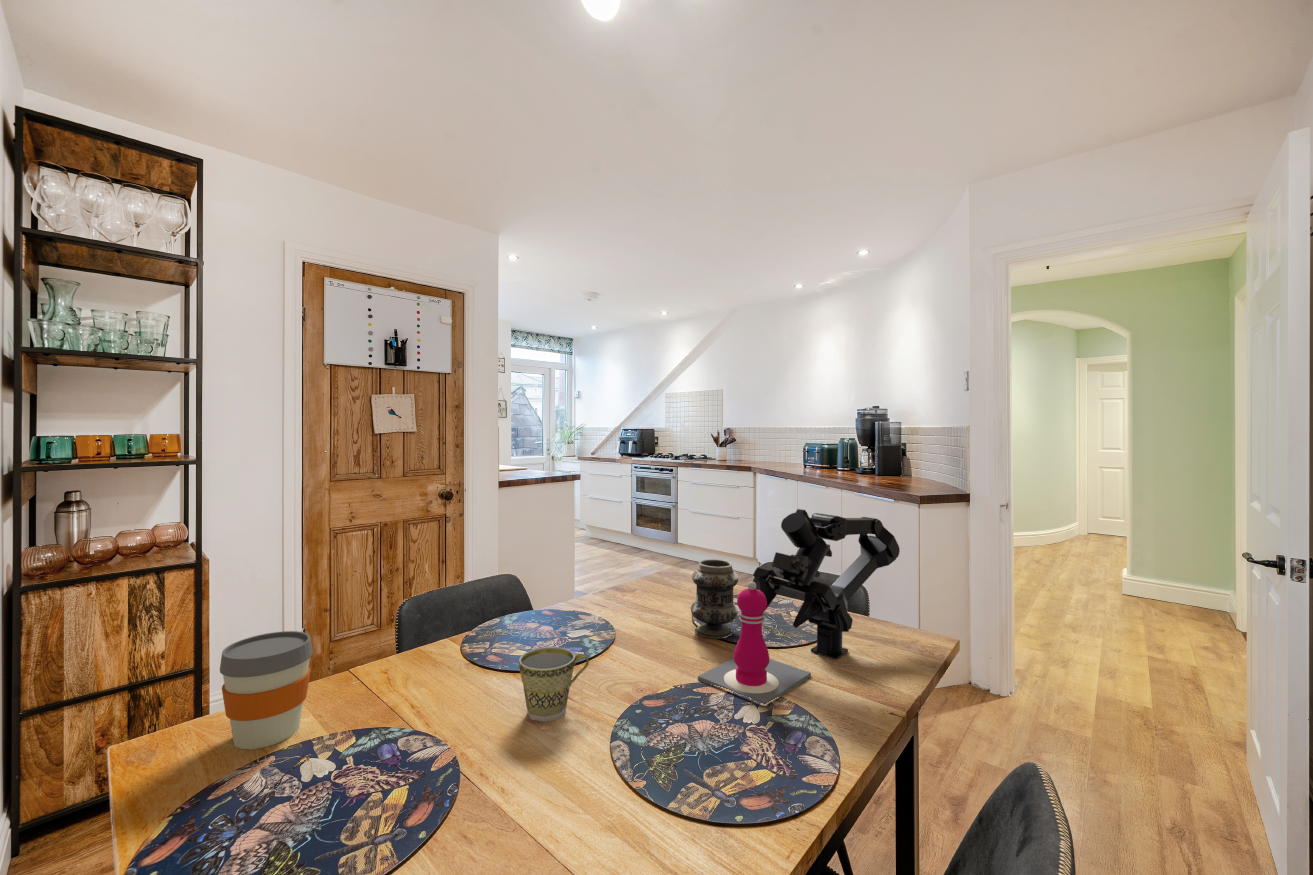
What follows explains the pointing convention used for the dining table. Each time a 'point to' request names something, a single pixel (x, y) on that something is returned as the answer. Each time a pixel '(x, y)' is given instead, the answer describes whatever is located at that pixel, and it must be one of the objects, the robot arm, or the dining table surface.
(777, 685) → the mat
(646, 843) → the dining table surface
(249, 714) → the reusable coffee cup
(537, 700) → the ceramic cup
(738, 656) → the pepper mill
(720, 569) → the apothecary jar
